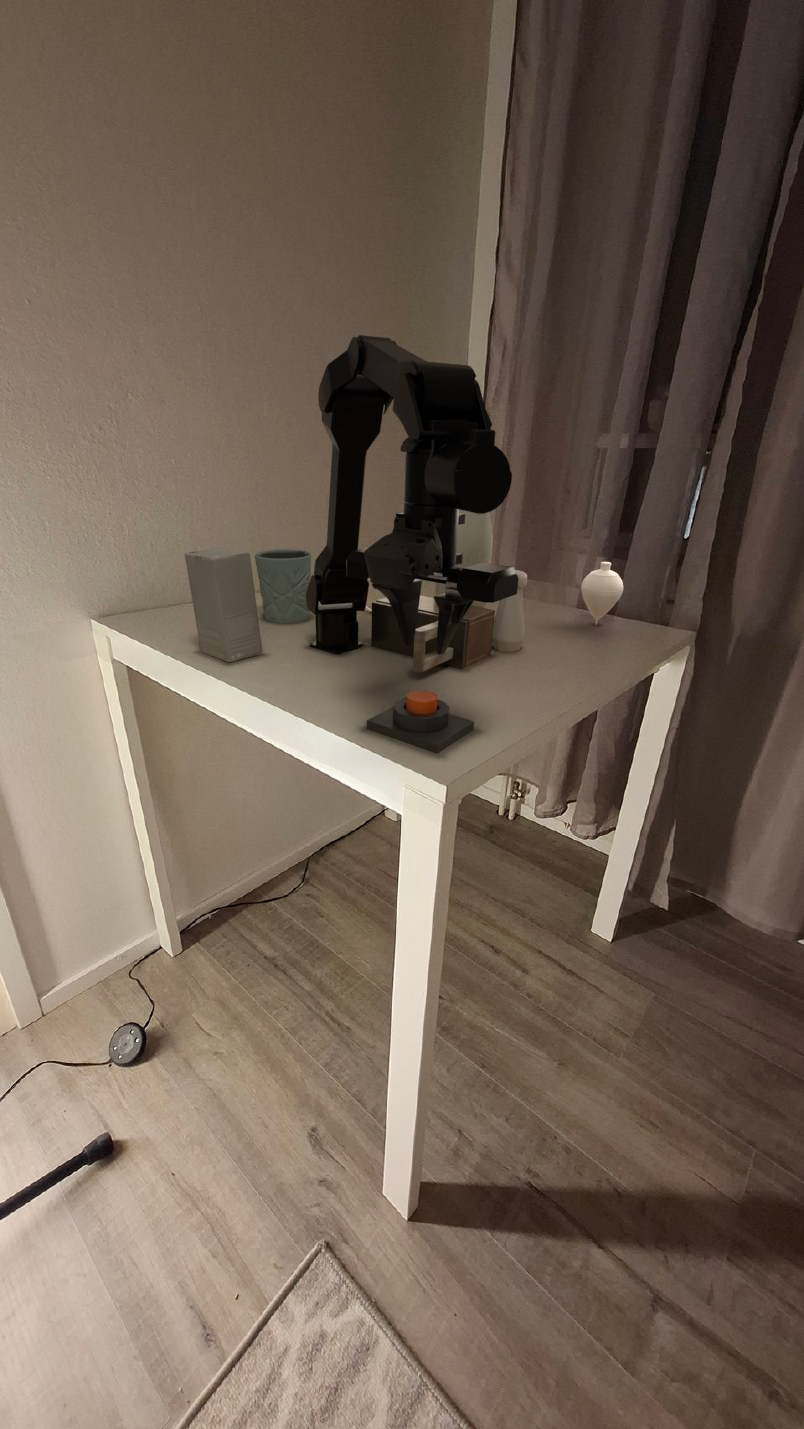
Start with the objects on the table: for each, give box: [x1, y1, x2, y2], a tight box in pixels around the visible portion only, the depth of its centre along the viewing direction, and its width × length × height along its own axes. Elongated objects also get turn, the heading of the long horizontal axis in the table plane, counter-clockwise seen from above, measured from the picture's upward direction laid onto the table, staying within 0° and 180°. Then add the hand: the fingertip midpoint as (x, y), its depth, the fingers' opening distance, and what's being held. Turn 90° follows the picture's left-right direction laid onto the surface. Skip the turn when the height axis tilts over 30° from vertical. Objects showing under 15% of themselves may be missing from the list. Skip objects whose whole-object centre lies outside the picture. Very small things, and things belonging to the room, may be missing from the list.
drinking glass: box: [254, 548, 313, 624], centre depth 114 cm, size 10×10×12 cm
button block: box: [366, 697, 475, 755], centre depth 72 cm, size 10×8×3 cm
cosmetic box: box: [184, 547, 263, 663], centre depth 93 cm, size 8×7×16 cm
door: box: [370, 601, 468, 673], centre depth 93 cm, size 10×18×7 cm, turn 54°
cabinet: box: [376, 595, 496, 669], centre depth 100 cm, size 8×18×8 cm, turn 54°
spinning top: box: [580, 561, 624, 626], centre depth 117 cm, size 8×8×12 cm
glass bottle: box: [434, 510, 494, 608], centre depth 114 cm, size 10×10×28 cm
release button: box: [405, 690, 438, 714], centre depth 72 cm, size 4×4×2 cm
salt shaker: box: [492, 569, 528, 653], centre depth 101 cm, size 6×6×13 cm
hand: (424, 649), depth 69 cm, fingers open, 4 cm apart
